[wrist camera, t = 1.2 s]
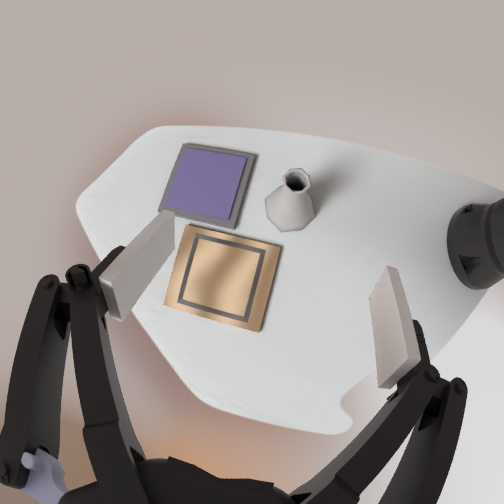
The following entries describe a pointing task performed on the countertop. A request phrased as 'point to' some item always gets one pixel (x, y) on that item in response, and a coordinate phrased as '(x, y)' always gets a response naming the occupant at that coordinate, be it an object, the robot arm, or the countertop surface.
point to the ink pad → (207, 185)
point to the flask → (291, 202)
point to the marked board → (222, 277)
